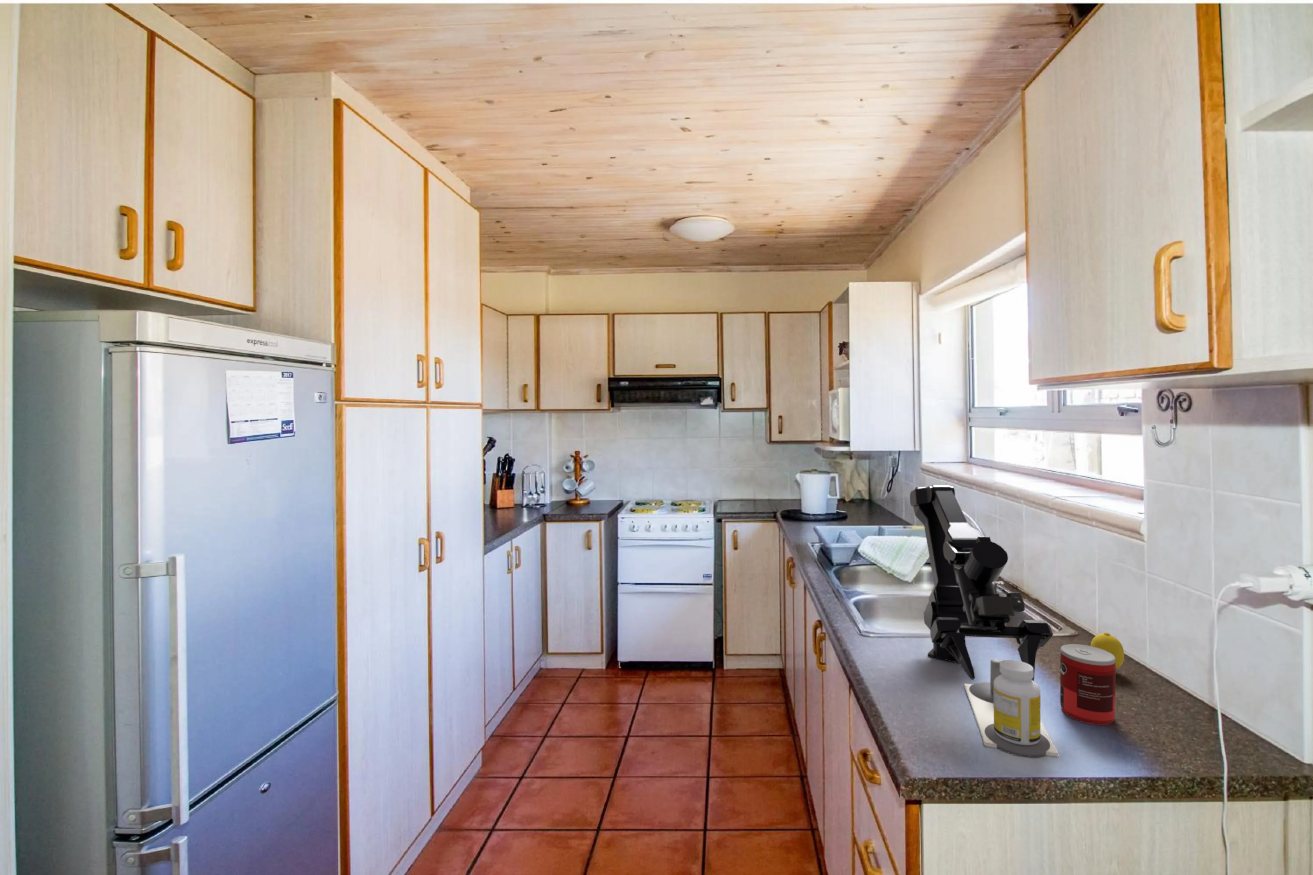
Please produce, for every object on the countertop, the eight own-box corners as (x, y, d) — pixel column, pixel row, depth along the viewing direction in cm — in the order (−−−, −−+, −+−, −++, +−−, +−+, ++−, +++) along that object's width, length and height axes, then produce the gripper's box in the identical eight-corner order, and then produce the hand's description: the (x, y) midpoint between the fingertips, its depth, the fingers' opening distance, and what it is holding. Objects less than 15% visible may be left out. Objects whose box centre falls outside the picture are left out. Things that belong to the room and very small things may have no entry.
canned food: (1078, 700, 110) (1078, 640, 109) (1126, 720, 102) (1126, 657, 102) (1049, 708, 107) (1049, 647, 106) (1096, 729, 99) (1096, 664, 99)
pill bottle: (1039, 732, 98) (1039, 661, 97) (1041, 751, 92) (1041, 677, 92) (993, 722, 101) (994, 654, 101) (992, 740, 95) (992, 668, 95)
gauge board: (963, 682, 117) (963, 649, 117) (1021, 689, 114) (1021, 655, 114) (986, 750, 94) (986, 708, 94) (1061, 762, 90) (1061, 718, 90)
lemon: (1095, 675, 119) (1095, 636, 119) (1085, 664, 125) (1085, 626, 124) (1128, 679, 118) (1129, 638, 117) (1117, 667, 123) (1117, 629, 123)
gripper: (934, 573, 107) (954, 659, 97) (1048, 575, 104) (1081, 664, 94) (922, 601, 116) (939, 684, 105) (1027, 604, 113) (1056, 689, 102)
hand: (1002, 680), depth 102 cm, fingers open, 9 cm apart
